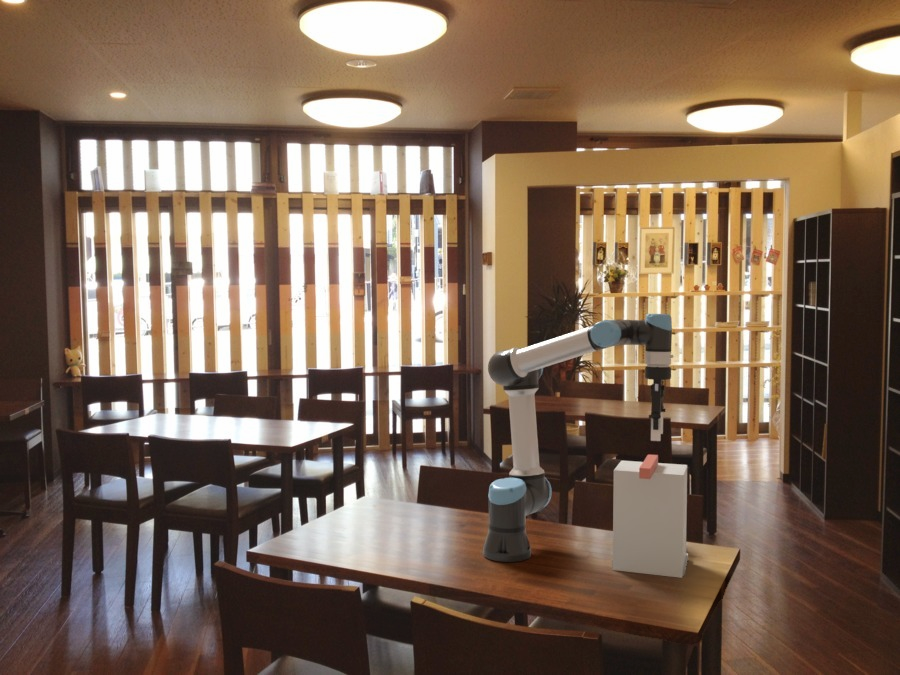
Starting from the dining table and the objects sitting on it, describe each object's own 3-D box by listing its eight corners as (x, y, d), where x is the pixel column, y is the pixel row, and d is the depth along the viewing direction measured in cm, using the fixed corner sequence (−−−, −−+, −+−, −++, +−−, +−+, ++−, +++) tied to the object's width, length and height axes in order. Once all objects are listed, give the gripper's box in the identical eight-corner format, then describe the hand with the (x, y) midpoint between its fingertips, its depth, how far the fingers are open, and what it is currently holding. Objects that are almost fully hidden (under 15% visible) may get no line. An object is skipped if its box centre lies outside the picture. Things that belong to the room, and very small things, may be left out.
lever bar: (650, 479, 225) (650, 468, 225) (639, 478, 226) (639, 467, 226) (657, 464, 246) (658, 455, 246) (647, 464, 247) (648, 454, 247)
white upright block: (684, 578, 232) (685, 475, 231) (610, 569, 239) (611, 470, 238) (688, 559, 249) (689, 463, 248) (619, 552, 256) (620, 459, 255)
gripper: (669, 369, 224) (668, 444, 225) (672, 363, 248) (671, 431, 249) (641, 368, 226) (640, 443, 227) (647, 362, 250) (646, 430, 251)
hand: (656, 437), depth 238 cm, fingers open, 13 cm apart
